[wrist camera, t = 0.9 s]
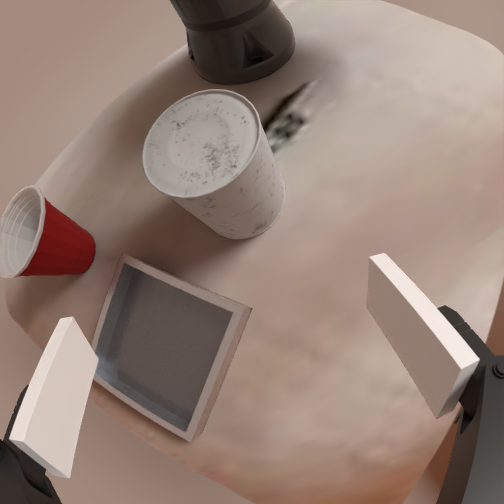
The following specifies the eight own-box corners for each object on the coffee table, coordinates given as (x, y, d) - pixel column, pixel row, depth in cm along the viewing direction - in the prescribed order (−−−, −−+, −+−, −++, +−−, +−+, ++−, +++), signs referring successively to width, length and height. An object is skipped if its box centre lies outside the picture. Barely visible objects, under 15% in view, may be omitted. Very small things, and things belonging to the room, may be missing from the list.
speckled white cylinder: (201, 244, 33) (137, 208, 22) (200, 165, 35) (147, 106, 24) (290, 233, 31) (266, 185, 20) (281, 150, 33) (255, 77, 22)
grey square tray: (136, 258, 35) (121, 253, 32) (252, 308, 31) (244, 307, 28) (99, 369, 34) (84, 372, 31) (201, 433, 29) (190, 442, 26)
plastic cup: (105, 199, 38) (42, 165, 27) (116, 277, 35) (42, 260, 24) (54, 229, 40) (-7, 207, 28) (61, 300, 37) (-8, 290, 26)
